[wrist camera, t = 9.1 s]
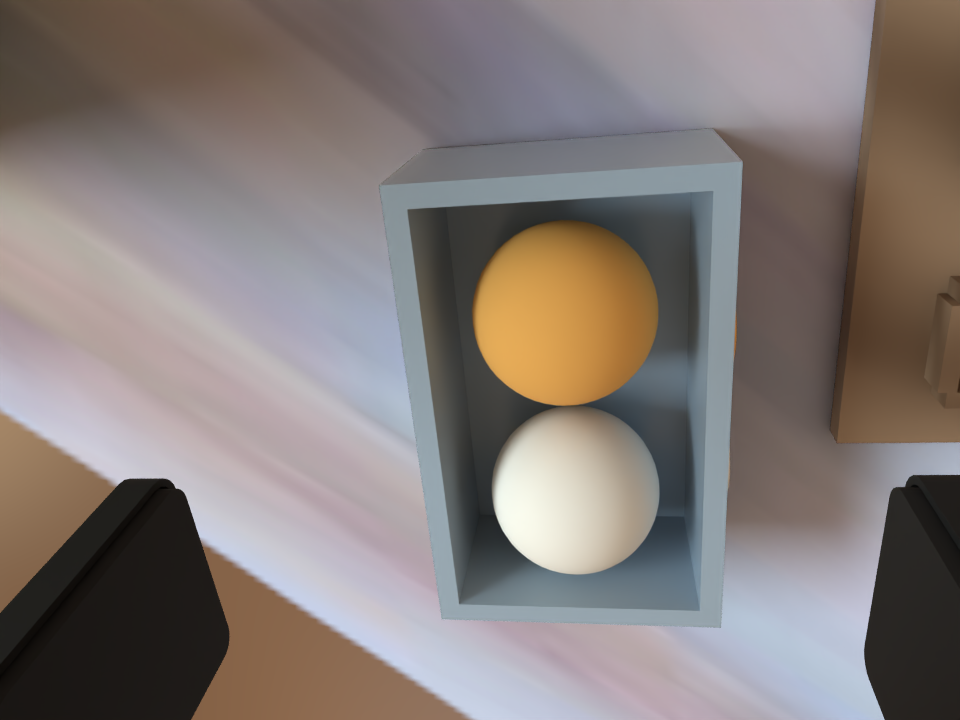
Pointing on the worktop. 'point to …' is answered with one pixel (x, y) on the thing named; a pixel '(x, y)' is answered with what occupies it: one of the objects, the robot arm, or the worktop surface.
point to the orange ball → (565, 312)
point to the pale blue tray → (639, 403)
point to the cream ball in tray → (575, 489)
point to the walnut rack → (905, 237)
